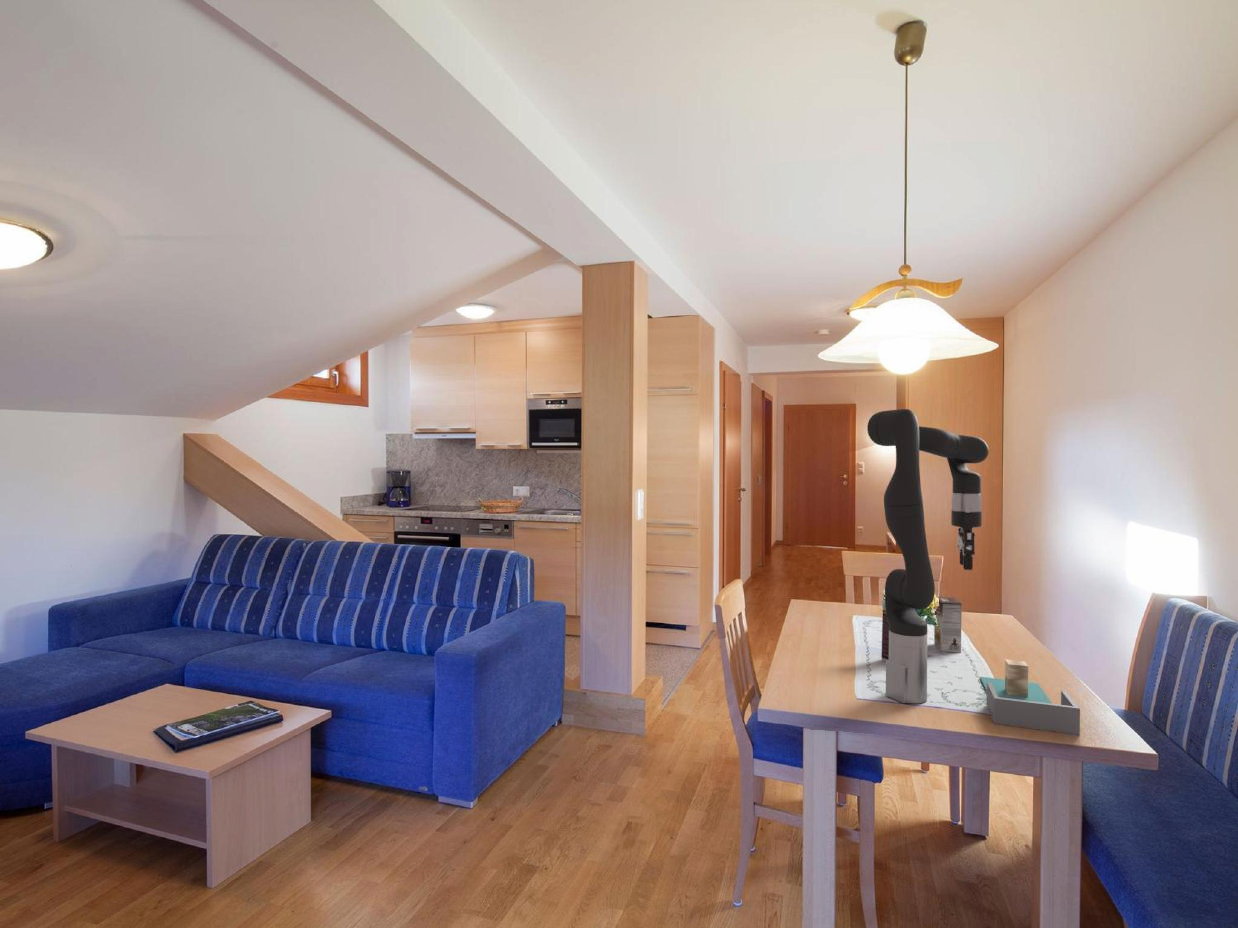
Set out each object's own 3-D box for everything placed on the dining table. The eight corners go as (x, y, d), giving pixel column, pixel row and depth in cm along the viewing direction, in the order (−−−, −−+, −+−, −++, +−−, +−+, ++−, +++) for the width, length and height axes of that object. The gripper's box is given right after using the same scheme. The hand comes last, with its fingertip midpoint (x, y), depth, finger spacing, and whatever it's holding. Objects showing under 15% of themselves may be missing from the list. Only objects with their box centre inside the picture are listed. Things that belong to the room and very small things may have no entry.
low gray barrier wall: (994, 723, 155) (994, 698, 155) (986, 705, 166) (986, 682, 166) (1079, 734, 149) (1080, 708, 149) (1065, 715, 160) (1065, 690, 160)
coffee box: (933, 643, 222) (933, 596, 222) (953, 644, 221) (954, 597, 220) (940, 651, 213) (941, 602, 213) (962, 652, 212) (962, 603, 211)
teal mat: (990, 700, 170) (990, 698, 170) (980, 678, 187) (980, 676, 187) (1053, 708, 165) (1053, 705, 165) (1037, 685, 182) (1037, 682, 182)
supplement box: (891, 664, 199) (891, 612, 199) (880, 659, 204) (881, 608, 204) (915, 662, 201) (915, 610, 201) (904, 657, 206) (904, 607, 206)
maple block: (1008, 694, 173) (1008, 664, 173) (1005, 688, 177) (1005, 659, 177) (1028, 696, 171) (1028, 666, 171) (1024, 691, 175) (1024, 661, 175)
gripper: (948, 507, 192) (948, 562, 192) (954, 510, 179) (953, 570, 179) (977, 508, 189) (977, 564, 190) (985, 511, 176) (984, 572, 176)
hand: (965, 567), depth 184 cm, fingers open, 8 cm apart
